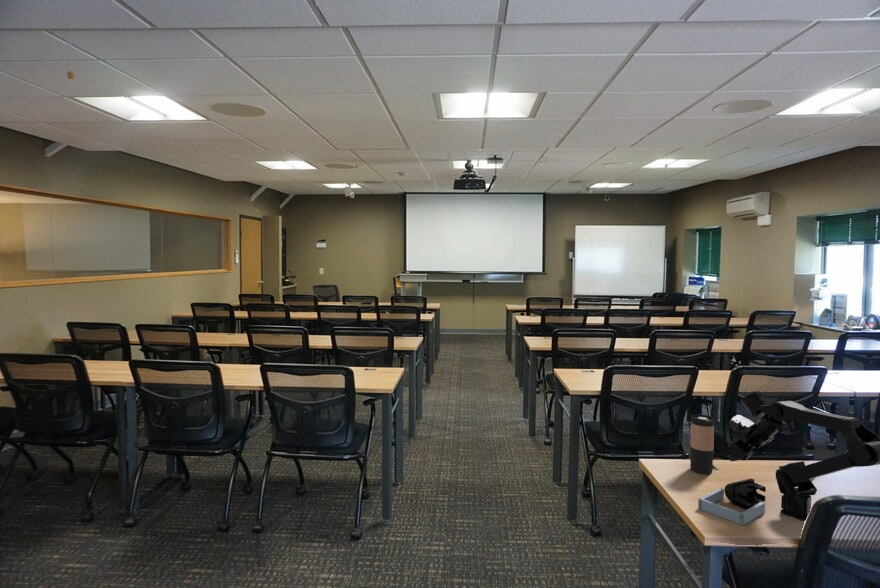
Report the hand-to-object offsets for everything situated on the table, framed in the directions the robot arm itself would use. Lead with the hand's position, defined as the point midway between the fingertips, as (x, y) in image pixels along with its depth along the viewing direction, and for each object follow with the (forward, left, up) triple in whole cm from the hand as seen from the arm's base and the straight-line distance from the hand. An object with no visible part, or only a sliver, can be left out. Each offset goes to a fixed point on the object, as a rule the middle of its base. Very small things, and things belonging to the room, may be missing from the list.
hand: (737, 454), depth 172 cm
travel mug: (+14, -4, -11) cm, 18 cm away
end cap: (-8, +11, -11) cm, 18 cm away
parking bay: (-8, +20, -11) cm, 24 cm away
